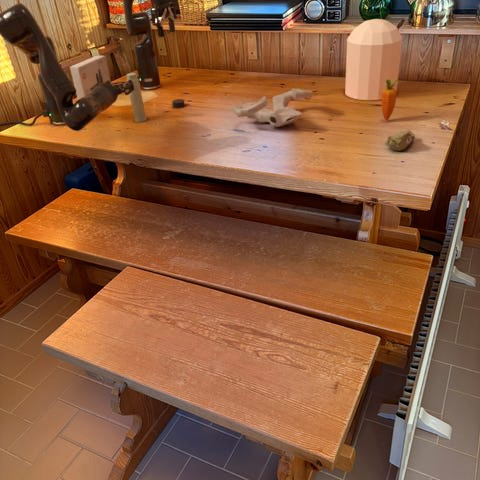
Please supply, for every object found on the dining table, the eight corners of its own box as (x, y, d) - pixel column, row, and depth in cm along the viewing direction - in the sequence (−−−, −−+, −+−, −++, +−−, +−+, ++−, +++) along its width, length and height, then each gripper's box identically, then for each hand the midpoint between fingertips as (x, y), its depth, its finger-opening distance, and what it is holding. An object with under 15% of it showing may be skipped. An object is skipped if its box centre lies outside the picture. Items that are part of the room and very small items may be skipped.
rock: (408, 140, 153) (379, 139, 152) (414, 122, 149) (384, 120, 148) (421, 154, 144) (391, 153, 143) (428, 135, 140) (396, 133, 139)
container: (366, 103, 181) (371, 27, 166) (334, 91, 198) (337, 19, 182) (408, 92, 188) (417, 17, 172) (374, 81, 204) (379, 11, 188)
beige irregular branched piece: (230, 133, 167) (227, 101, 161) (244, 110, 188) (241, 81, 182) (308, 133, 161) (308, 99, 155) (313, 109, 182) (314, 78, 176)
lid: (185, 106, 197) (185, 101, 196) (174, 109, 196) (173, 103, 195) (183, 103, 201) (182, 98, 200) (172, 105, 200) (171, 100, 199)
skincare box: (87, 102, 214) (77, 67, 204) (78, 102, 215) (68, 66, 206) (113, 88, 229) (105, 54, 220) (104, 88, 231) (96, 54, 222)
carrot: (394, 118, 167) (398, 76, 158) (393, 123, 163) (397, 80, 154) (379, 117, 168) (383, 75, 160) (378, 122, 165) (382, 80, 156)
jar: (132, 121, 188) (122, 75, 177) (140, 117, 191) (131, 71, 180) (140, 122, 186) (131, 76, 175) (148, 119, 189) (139, 72, 178)
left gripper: (119, 85, 153) (136, 71, 165) (79, 86, 155) (99, 72, 168) (124, 107, 157) (140, 92, 170) (85, 108, 160) (104, 93, 172)
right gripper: (161, -15, 180) (168, 30, 189) (140, -9, 169) (149, 38, 179) (177, -15, 177) (184, 30, 186) (158, -10, 167) (166, 38, 176)
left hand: (120, 82), depth 169 cm, fingers open, 8 cm apart
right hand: (167, 34), depth 182 cm, fingers open, 8 cm apart
